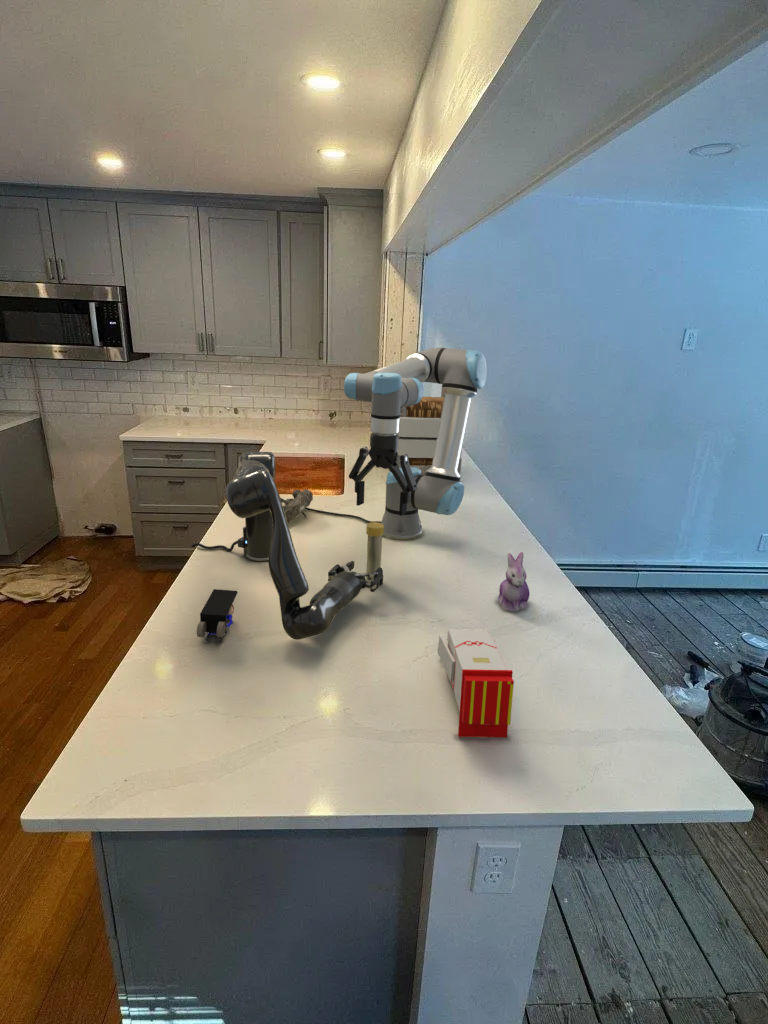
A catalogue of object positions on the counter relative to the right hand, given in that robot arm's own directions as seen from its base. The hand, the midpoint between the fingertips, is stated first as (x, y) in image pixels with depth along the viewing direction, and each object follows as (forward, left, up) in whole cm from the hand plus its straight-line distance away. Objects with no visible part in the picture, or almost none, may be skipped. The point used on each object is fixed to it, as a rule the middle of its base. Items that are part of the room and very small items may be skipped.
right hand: (381, 509), depth 157 cm
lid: (-1, -1, -5) cm, 5 cm away
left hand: (+1, -5, -16) cm, 17 cm away
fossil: (-59, +10, -22) cm, 64 cm away
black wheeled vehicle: (-3, -47, -22) cm, 53 cm away
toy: (+50, -17, -22) cm, 57 cm away
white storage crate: (-77, +91, -22) cm, 121 cm away
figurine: (+32, +22, -22) cm, 45 cm away
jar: (-1, -1, -22) cm, 22 cm away
